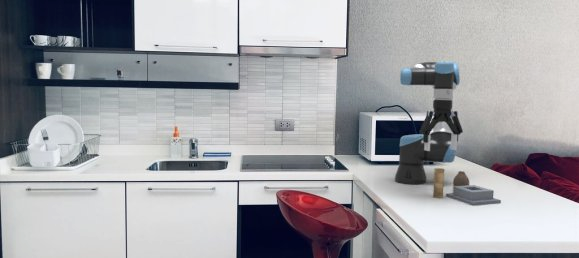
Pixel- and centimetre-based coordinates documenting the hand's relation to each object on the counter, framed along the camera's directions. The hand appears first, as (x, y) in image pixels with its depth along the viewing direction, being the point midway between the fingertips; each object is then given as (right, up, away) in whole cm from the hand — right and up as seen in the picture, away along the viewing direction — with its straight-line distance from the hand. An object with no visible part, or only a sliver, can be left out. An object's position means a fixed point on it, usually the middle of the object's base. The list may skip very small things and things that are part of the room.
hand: (440, 150), depth 188 cm
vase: (+14, -19, +15) cm, 28 cm away
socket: (+13, -20, -2) cm, 24 cm away
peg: (0, -20, +2) cm, 20 cm away
